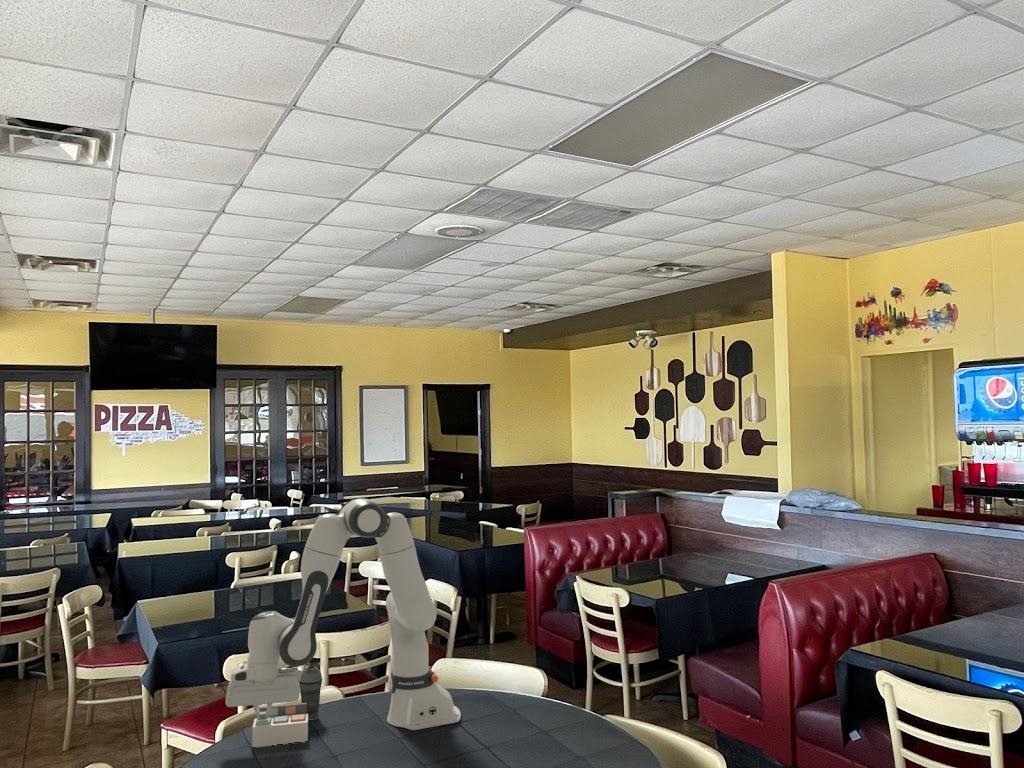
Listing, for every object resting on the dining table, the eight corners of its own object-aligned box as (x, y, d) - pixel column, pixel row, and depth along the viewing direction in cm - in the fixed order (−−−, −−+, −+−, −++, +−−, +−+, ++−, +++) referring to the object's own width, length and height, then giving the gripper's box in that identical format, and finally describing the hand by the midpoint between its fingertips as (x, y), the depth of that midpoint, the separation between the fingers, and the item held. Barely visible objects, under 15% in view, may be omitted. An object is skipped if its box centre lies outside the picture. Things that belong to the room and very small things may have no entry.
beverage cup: (315, 723, 231) (316, 656, 232) (293, 721, 232) (294, 655, 234) (326, 714, 238) (326, 649, 239) (304, 713, 240) (305, 648, 241)
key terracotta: (304, 721, 222) (304, 714, 223) (304, 725, 219) (304, 718, 219) (291, 722, 222) (292, 715, 222) (291, 727, 218) (291, 719, 218)
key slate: (287, 722, 221) (287, 715, 221) (287, 727, 218) (287, 720, 218) (274, 724, 220) (274, 717, 220) (273, 728, 217) (274, 721, 217)
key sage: (270, 724, 220) (270, 717, 220) (269, 729, 217) (269, 722, 217) (257, 725, 219) (257, 718, 219) (256, 730, 216) (256, 723, 216)
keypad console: (308, 730, 226) (308, 702, 226) (307, 741, 217) (307, 713, 218) (255, 735, 222) (255, 707, 223) (252, 747, 214) (252, 718, 214)
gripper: (301, 663, 224) (300, 711, 223) (227, 669, 219) (226, 718, 219) (300, 670, 218) (300, 719, 217) (225, 676, 213) (224, 726, 212)
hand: (262, 719), depth 218 cm, fingers closed
